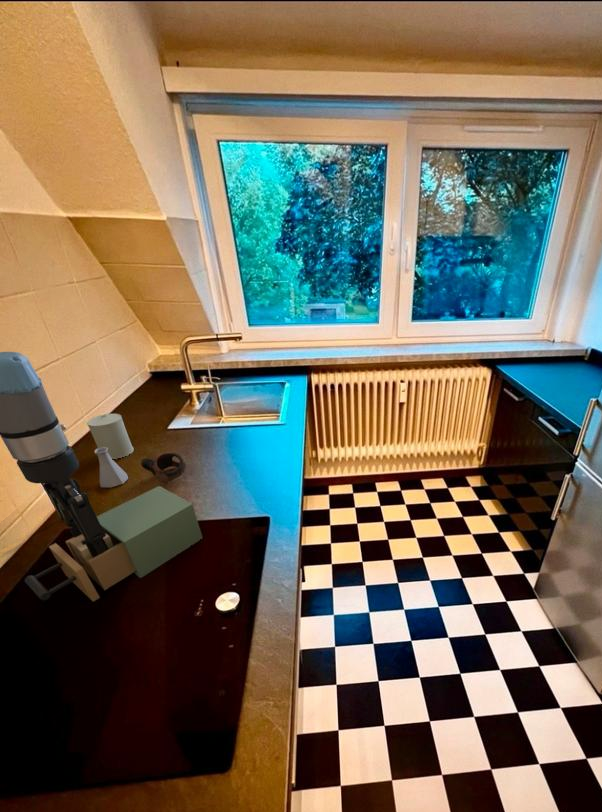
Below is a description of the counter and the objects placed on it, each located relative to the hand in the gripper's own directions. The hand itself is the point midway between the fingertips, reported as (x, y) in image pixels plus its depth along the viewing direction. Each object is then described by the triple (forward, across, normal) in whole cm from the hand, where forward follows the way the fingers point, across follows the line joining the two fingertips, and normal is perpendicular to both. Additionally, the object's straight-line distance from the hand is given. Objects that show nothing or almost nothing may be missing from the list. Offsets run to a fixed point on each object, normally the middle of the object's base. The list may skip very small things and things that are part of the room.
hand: (98, 556), depth 75 cm
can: (+5, +51, -28) cm, 58 cm away
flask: (+5, +35, -19) cm, 40 cm away
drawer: (+4, 0, +1) cm, 4 cm away
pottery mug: (+5, +25, -29) cm, 39 cm away
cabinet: (+5, 0, -11) cm, 12 cm away
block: (0, 0, 0) cm, 0 cm away
